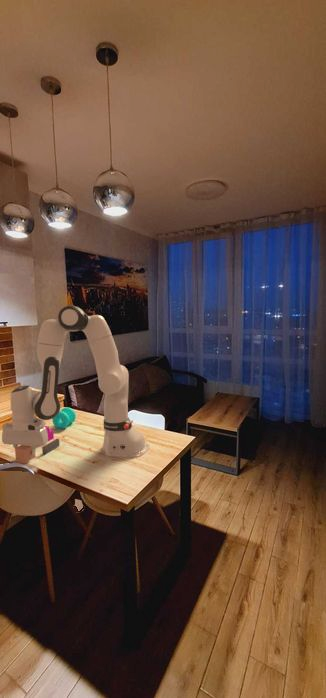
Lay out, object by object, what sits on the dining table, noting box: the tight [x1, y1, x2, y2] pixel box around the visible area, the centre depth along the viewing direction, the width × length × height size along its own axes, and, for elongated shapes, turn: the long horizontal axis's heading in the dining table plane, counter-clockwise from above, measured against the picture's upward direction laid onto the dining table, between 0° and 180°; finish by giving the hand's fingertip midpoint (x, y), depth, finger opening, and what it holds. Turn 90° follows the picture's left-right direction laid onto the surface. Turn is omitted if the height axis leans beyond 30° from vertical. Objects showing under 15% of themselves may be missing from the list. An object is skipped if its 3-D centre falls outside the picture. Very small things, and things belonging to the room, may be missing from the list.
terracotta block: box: [14, 445, 36, 464], centre depth 129 cm, size 5×6×6 cm
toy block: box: [44, 425, 55, 442], centre depth 151 cm, size 15×6×8 cm, turn 65°
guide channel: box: [37, 438, 60, 456], centre depth 140 cm, size 10×10×4 cm
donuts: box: [51, 406, 77, 430], centre depth 167 cm, size 10×10×10 cm
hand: (26, 453), depth 130 cm, fingers closed on terracotta block, 5 cm apart
